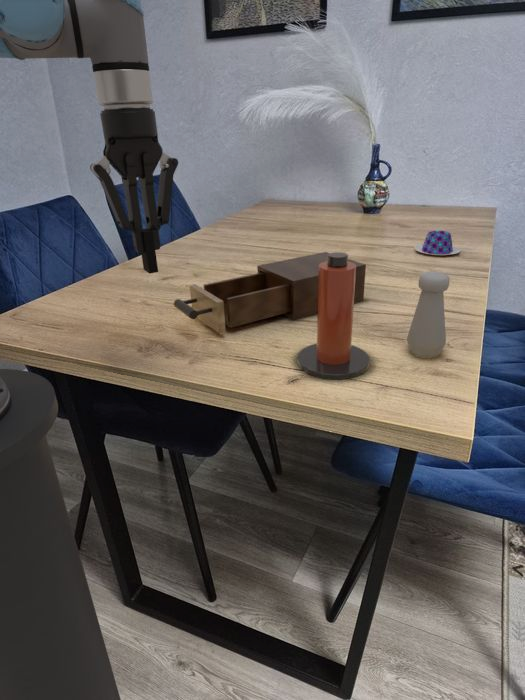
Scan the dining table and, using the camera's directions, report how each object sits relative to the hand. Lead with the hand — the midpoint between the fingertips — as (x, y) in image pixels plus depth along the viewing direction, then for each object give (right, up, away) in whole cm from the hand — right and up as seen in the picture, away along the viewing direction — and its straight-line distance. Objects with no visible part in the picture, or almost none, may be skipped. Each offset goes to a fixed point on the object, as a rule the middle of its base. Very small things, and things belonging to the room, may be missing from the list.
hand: (150, 270), depth 76 cm
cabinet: (+28, -3, +21) cm, 35 cm away
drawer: (+13, -7, +12) cm, 19 cm away
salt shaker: (+44, -13, -2) cm, 46 cm away
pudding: (+66, +14, +53) cm, 86 cm away
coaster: (+29, -15, -4) cm, 33 cm away
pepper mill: (+29, -14, -4) cm, 33 cm away
